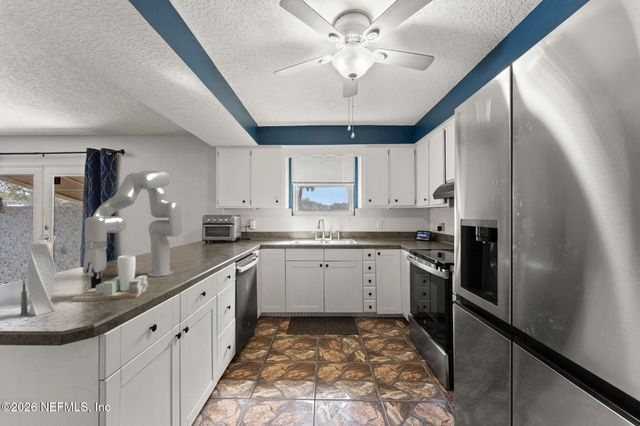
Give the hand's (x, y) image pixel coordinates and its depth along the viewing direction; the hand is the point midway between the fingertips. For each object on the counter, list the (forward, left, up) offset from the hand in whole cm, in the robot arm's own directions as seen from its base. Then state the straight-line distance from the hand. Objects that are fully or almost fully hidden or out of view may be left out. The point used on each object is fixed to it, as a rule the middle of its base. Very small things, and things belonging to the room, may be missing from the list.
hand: (96, 287), depth 125 cm
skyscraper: (+19, -9, -4) cm, 21 cm away
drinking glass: (-1, +11, -2) cm, 12 cm away
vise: (0, +7, -4) cm, 8 cm away
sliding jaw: (0, +5, -2) cm, 5 cm away
